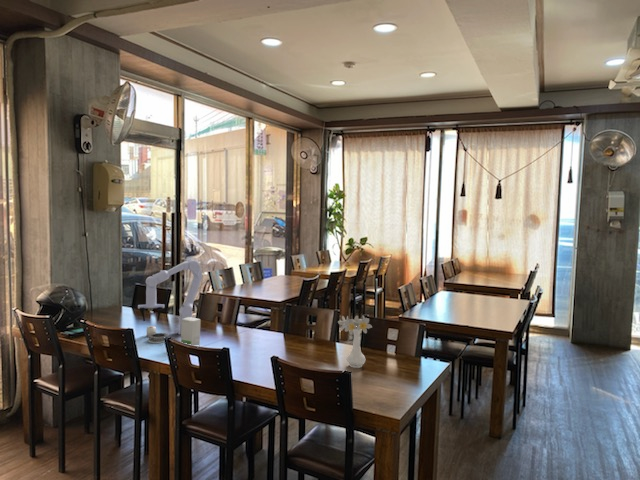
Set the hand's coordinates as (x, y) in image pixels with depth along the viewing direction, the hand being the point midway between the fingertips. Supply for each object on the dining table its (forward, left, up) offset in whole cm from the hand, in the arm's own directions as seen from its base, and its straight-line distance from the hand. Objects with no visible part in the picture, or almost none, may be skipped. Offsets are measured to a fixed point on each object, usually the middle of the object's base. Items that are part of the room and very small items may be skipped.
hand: (151, 320), depth 282 cm
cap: (0, 0, -9) cm, 9 cm away
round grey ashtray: (-5, +11, -9) cm, 15 cm away
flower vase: (-102, +70, -9) cm, 124 cm away
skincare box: (-23, +26, -9) cm, 36 cm away
